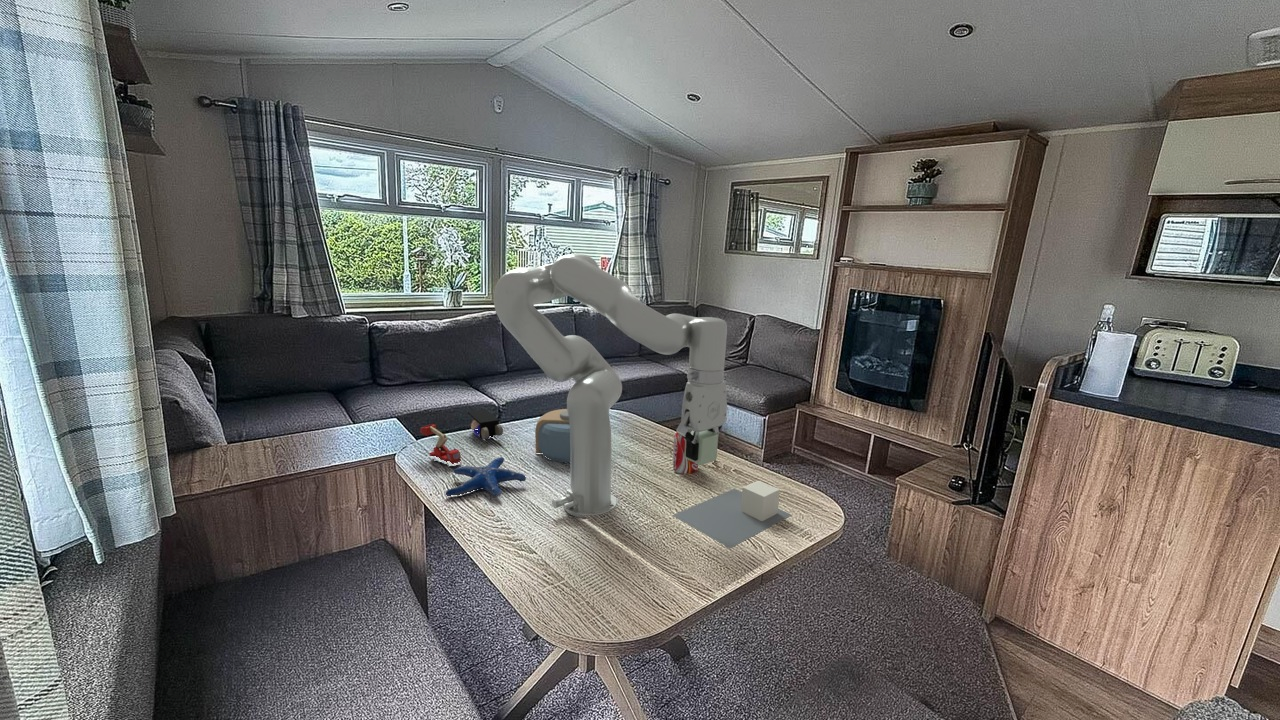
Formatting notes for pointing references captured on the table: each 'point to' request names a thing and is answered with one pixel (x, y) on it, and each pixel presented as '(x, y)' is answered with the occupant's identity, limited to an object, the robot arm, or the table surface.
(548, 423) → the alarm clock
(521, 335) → the robot arm
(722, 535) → the board
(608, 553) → the table surface
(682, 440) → the soda can
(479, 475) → the starfish
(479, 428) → the black toy truck
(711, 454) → the sage block
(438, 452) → the toy fire truck
